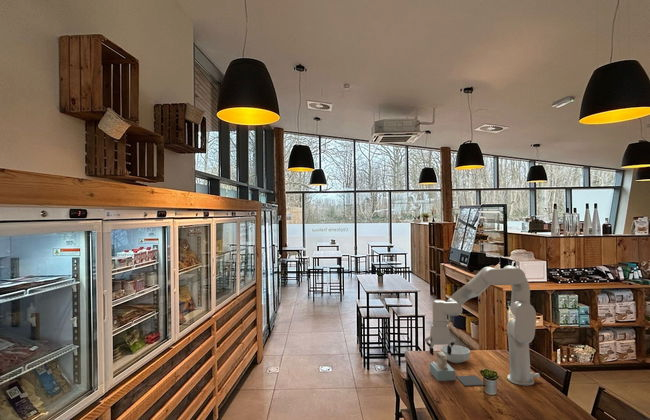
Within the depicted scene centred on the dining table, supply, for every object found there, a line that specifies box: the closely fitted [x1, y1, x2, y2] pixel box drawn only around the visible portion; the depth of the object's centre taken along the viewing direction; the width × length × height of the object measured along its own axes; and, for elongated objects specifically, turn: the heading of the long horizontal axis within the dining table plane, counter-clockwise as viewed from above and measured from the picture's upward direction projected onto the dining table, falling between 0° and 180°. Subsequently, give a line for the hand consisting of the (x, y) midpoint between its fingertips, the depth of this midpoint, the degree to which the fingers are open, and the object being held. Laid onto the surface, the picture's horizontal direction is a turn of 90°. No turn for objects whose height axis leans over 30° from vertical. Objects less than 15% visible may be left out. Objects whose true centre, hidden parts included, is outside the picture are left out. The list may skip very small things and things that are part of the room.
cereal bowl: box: [440, 344, 471, 364], centre depth 214 cm, size 17×17×7 cm
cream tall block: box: [436, 351, 448, 370], centre depth 194 cm, size 3×6×12 cm, turn 3°
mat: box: [455, 374, 484, 387], centre depth 186 cm, size 11×11×1 cm
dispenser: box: [429, 361, 456, 382], centre depth 194 cm, size 9×12×6 cm
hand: (440, 354), depth 194 cm, fingers open, 9 cm apart
